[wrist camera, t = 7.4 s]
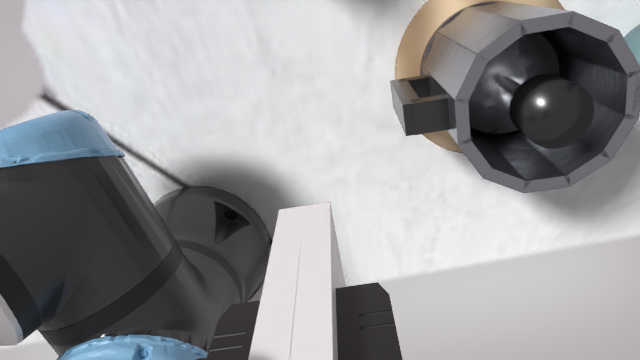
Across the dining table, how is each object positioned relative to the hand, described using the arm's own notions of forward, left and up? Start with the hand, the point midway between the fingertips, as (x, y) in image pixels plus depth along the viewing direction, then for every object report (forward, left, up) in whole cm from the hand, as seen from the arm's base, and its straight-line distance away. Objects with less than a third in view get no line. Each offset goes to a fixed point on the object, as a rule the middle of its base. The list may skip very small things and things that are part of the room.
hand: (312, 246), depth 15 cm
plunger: (+15, -3, -30) cm, 34 cm away
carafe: (+15, -3, -35) cm, 38 cm away
